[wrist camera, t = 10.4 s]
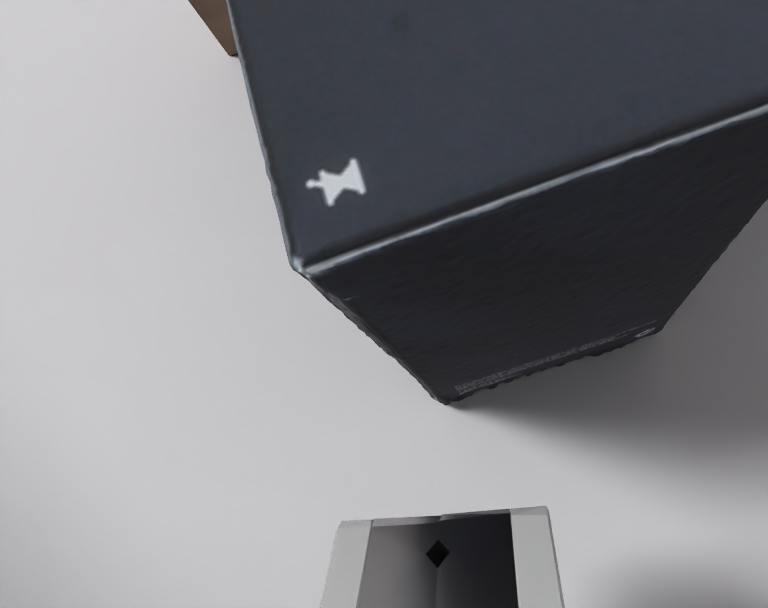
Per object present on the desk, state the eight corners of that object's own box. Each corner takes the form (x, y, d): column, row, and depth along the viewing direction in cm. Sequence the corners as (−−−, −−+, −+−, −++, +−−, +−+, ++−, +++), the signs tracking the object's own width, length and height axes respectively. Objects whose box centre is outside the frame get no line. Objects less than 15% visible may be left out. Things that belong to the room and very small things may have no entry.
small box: (684, 330, 15) (952, 60, 5) (435, 411, 16) (270, 307, 6) (534, 9, 19) (527, -514, 9) (335, 91, 20) (129, -299, 10)
